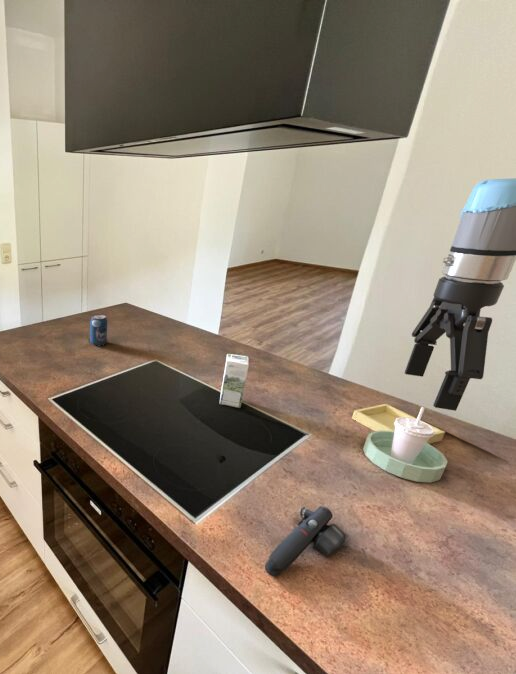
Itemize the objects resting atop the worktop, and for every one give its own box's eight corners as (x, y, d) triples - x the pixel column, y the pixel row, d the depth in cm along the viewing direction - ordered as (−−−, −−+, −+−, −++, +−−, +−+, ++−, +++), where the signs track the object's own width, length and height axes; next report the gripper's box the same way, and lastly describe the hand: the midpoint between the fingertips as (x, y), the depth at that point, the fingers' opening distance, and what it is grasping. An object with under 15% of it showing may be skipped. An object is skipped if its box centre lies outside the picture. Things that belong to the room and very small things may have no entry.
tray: (441, 440, 89) (445, 431, 88) (407, 449, 86) (411, 440, 85) (382, 411, 101) (385, 403, 100) (351, 418, 98) (354, 410, 97)
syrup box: (240, 399, 108) (248, 355, 103) (240, 409, 103) (249, 363, 98) (220, 395, 110) (227, 352, 105) (219, 405, 105) (226, 360, 100)
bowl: (455, 476, 77) (463, 461, 76) (411, 490, 74) (418, 474, 73) (389, 439, 89) (394, 426, 88) (349, 450, 86) (353, 436, 84)
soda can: (98, 348, 146) (99, 320, 142) (86, 343, 151) (86, 316, 147) (110, 343, 150) (110, 316, 146) (97, 339, 155) (98, 312, 151)
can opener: (308, 516, 68) (315, 493, 66) (349, 545, 63) (358, 521, 61) (246, 558, 61) (252, 534, 59) (287, 595, 55) (295, 570, 53)
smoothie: (426, 466, 80) (449, 412, 75) (408, 474, 78) (431, 419, 72) (392, 448, 85) (412, 397, 80) (375, 455, 83) (394, 403, 78)
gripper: (413, 265, 72) (381, 360, 80) (482, 294, 51) (430, 420, 59) (463, 267, 69) (425, 366, 77) (558, 299, 48) (493, 431, 56)
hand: (427, 390), depth 68 cm, fingers open, 13 cm apart
